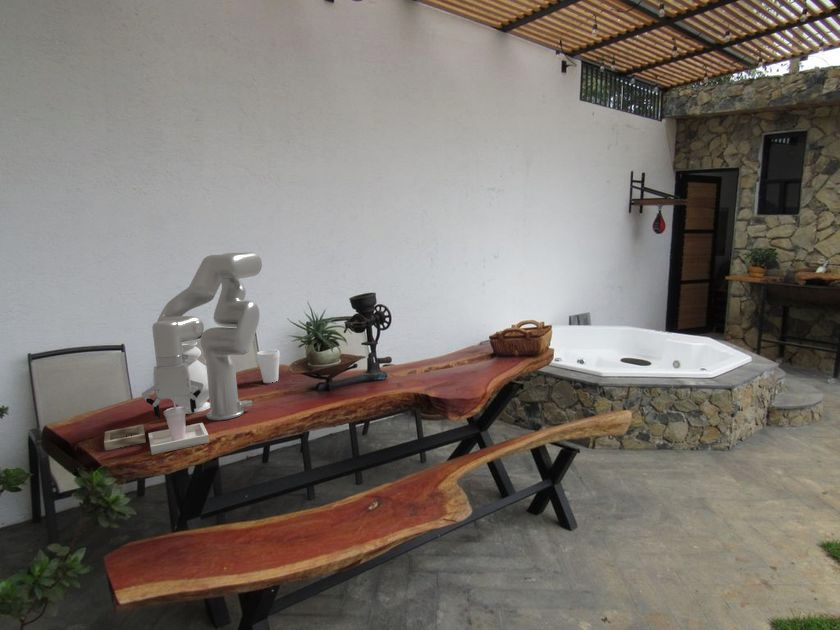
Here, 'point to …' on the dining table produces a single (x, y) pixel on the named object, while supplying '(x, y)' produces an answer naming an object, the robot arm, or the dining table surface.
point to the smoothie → (176, 421)
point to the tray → (164, 442)
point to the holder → (124, 437)
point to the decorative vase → (194, 379)
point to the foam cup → (269, 365)
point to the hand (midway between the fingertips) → (175, 414)
